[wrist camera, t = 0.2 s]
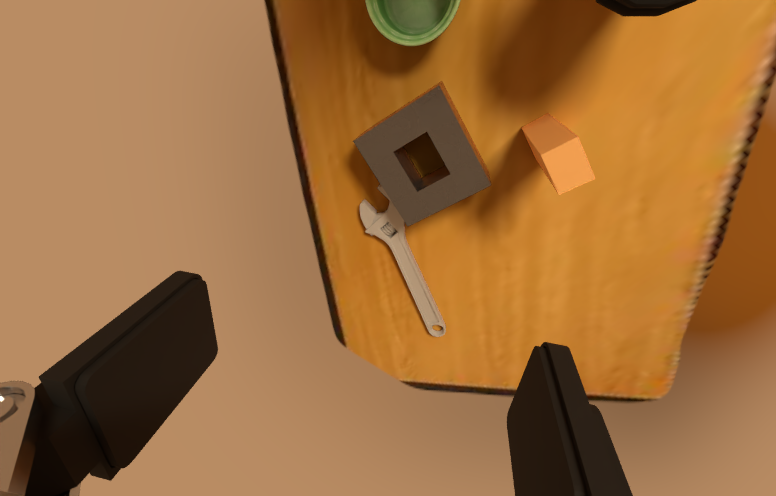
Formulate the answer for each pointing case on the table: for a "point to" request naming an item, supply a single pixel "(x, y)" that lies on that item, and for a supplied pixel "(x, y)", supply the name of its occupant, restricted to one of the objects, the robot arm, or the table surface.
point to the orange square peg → (558, 153)
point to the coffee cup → (643, 6)
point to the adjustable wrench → (403, 258)
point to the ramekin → (411, 19)
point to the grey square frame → (399, 172)
